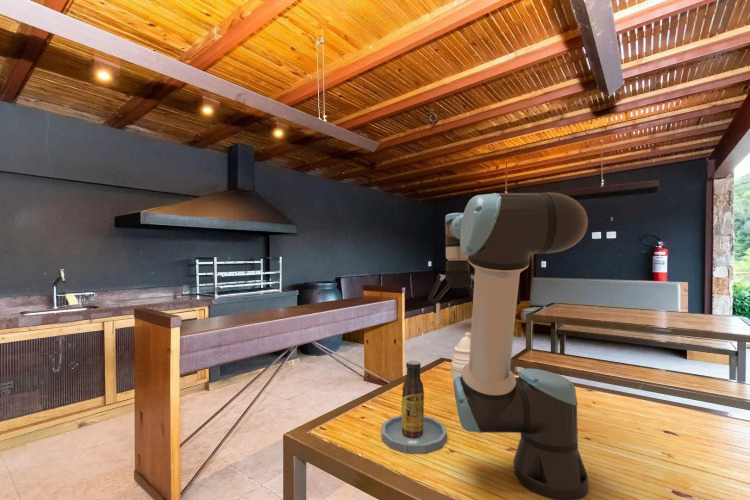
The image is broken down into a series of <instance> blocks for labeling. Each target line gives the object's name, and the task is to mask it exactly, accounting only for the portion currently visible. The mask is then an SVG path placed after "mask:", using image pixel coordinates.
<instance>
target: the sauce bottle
mask: <svg viewBox="0 0 750 500" xmlns="http://www.w3.org/2000/svg"><path fill="white" fill-rule="evenodd" d="M405 366H406V379H405V380H404V381H403V385H402V394H401V415H402V423H401V426H402V433H403V434H404V435H405V436H408V437H418V436H421V435H422V433H423V427H424V416H425V413H424V411H425V410H424V409H425V407H424V406H425V391H424V390H425V389H424V383H423V381H422V379H421V361H418V360H407V361H406V364H405Z"/></svg>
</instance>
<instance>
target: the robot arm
mask: <svg viewBox="0 0 750 500" xmlns="http://www.w3.org/2000/svg"><path fill="white" fill-rule="evenodd" d="M586 212H587V211H586V209H585V208H584V207H583V205H581V203H580V202H578V200H577V199H574V198H573V197H570V196H569V195H566V194H563V193H559V192H548V191H547V192H522V193H521V192H520V193H519V192H515V193H514V192H504V193H502V192H501V193H498V192H497V193H496V192H493V193H486V194H478V195H475V196H473V197H472V198H470V199H469V201H468V202H467V204H466V206H465V208H464V211H463V212H453V213H452V212H451V213H448V214H446V215H445V218H444V220H445V223H444V227H445V259H447V261H446V262H445V265H446V266H445V274H441V273H438V274H437V275H436V280H435V283H434V285H433V287H432V289H431V291H430V294H429V295H428V298H427V302H430V303H431V304H432V307H433V309H432V311H433V313H434V314H435V315H436V316H435V317H436V324H440V323H441V303H440V302H439V301H440V300H441V299H442V298H443V297H444V295H445V293H446V292H447V291H448V290H449V289H450V288H453V289H456V288H458V289H459V288H460V289H463V288H466V289H467V290H468V292H469V293H471V295H472V297H473V298H472V311H471V312H472V314H471V327H470V328H471V329H470V333H471V336H470V340H471V342H470V358H469V363H468V364H466V365H465V366H464V367H463V369H462V377H460V376H458V377H455V378H453V383H452V384H453V390H454V398H455V405H456V410H457V416H458V419H459V423H460V425H461V427H462V429H463V430H465V431H467V432H469V433H478V434H479V433H480V434H482V433H485V434H486V433H487V434H488V433H490V434H491V433H493V434H494V433H499V434H500V433H501V434H503V433H504V434H508V433H509V434H510V433H511V434H514V433H516V434H517V433H518V434H520V439H519V441H518V445H517V447H516V452H515V454H514V457H513V462H512V463H513V474H514V477H515V478H516V479H517V481H518V482H519V483H520V484H521V485H523V486H524V487H525V488H527V489H528V490H530V491H532V492H533V493H536V494H538V495H541V496H542V497H546V498H550V499H554V500H572V499H575V500H578V498H579V499H581V498H580V497H582V498H583V497H585V496H586V495H587V494H588V492H589V489H590V488H589V486H590V485H589V475H588V473H587V469H586V467H585V464H584V462H583V459H582V457H581V453H580V451H579V443H578V440H579V439H578V438H579V437H578V433H579V432H578V399H577V392H576V390H577V389H576V387H575V385H574V384H573V382H572V381H571V380H569V379H568V378H566V377H564V376H562V375H560V374H558V373H554V372H550V371H548V370H543V369H538V368H522V369H520V370H519V372H518V373H517V376H518V377H517V376H515V374H514V373H513V371H512V370H511V363H512V353H513V343H514V334H515V333H514V332H515V324H516V315H517V303H518V297H519V295H518V294H519V286H520V284H519V283H520V276H521V275H520V274H521V273H522V272H523V271H525V270H526V269H528V267H529V266H530V261H531V255H533V254H534V255H535V254H539V255H540V254H541V255H542V254H552V253H553V254H554V253H559V252H563V251H566V250H568V249H570V248H572V247H574V246H576V244H578V243H579V242H580V241H581V240H582V239H583V238H584V237H585V234H586V232H587V230H588V224H589V219H588V215H587V213H586ZM470 265H471V266H472V267H473V268H474V274H470ZM444 279H445V281H446V282H447V283H446V284H445V285H444V287H443V288H442V290H440V292H439V294H437V296H435V295H436V293H437V291H438V289H439V287H440V285H441V283H442V282H443V280H444ZM471 280H473V286H472V285H471V284H470V283H469V282H470V281H471ZM434 297H435V298H434ZM586 493H587V494H586ZM584 495H585V496H584Z"/></svg>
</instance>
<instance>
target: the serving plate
mask: <svg viewBox="0 0 750 500" xmlns="http://www.w3.org/2000/svg"><path fill="white" fill-rule="evenodd" d="M401 423H402V414H401V415H400V414H399V415H396V416H393V417H389V418H388V419H387V420H385V422H383V423H382V424H381V442H383V443H384V444H385V445H387V447H389V449H391V450H395V451H398V452H401V453H405V454H409V455H410V454H418V455H420V454H429V453H432V452H434V451H438V450H440V449H442V448H443V446H444V445H445V443H447V441H448V432H447V430H446V426H445V424H443V423H442V422H441V421H439V420H437V419H436V418H434V417H431V416H427V415H424V427H423V433H422V435H421V436H418V437H408V436H405V435H404V434H403V433H402V426H401Z"/></svg>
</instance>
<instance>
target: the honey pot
mask: <svg viewBox="0 0 750 500" xmlns="http://www.w3.org/2000/svg"><path fill="white" fill-rule="evenodd" d="M464 335H465V336H463V337H461V339H460V340H459V341H458V343H457V345H456V346H454V347H453V351H454V353H453V355H452V359H451V360H452V361H451V362H450V376H451V378H453V379H454V378H455V377H458V376H460V377H462V369H463V367H464V366H465V365H466V364H468V363H469V358H470V342H471V332H465V334H464Z"/></svg>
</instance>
